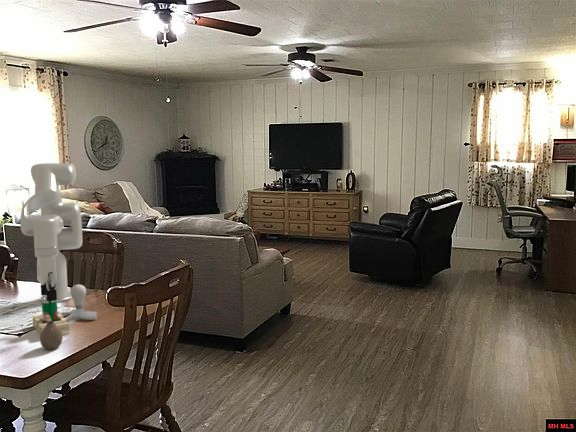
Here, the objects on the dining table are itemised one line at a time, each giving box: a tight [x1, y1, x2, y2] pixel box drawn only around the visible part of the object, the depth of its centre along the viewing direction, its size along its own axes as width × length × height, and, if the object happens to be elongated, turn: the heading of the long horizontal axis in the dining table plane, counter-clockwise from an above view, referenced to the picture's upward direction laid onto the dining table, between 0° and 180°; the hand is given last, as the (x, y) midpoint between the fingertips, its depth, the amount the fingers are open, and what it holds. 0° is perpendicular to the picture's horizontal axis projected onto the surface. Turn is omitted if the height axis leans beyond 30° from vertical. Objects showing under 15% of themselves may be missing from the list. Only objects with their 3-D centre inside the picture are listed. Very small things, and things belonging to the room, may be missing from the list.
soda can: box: [41, 298, 59, 324], centre depth 187 cm, size 5×5×12 cm
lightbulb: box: [69, 284, 87, 310], centre depth 210 cm, size 6×6×11 cm
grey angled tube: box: [65, 308, 98, 326], centre depth 199 cm, size 8×12×3 cm
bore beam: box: [32, 311, 70, 336], centre depth 188 cm, size 16×9×4 cm, turn 37°
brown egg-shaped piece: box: [39, 322, 64, 351], centre depth 171 cm, size 7×7×9 cm
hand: (48, 297), depth 186 cm, fingers open, 9 cm apart
